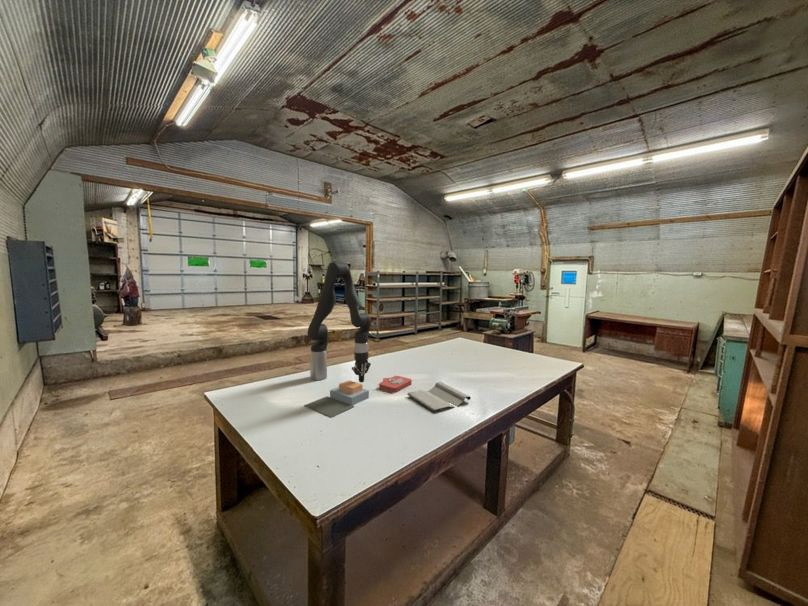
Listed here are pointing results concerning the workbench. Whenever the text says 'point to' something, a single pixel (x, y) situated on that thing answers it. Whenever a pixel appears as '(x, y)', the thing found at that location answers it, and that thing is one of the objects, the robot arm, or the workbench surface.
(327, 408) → the pad
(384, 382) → the red flat case
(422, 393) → the mat
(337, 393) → the block
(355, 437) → the workbench surface
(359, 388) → the orange block
